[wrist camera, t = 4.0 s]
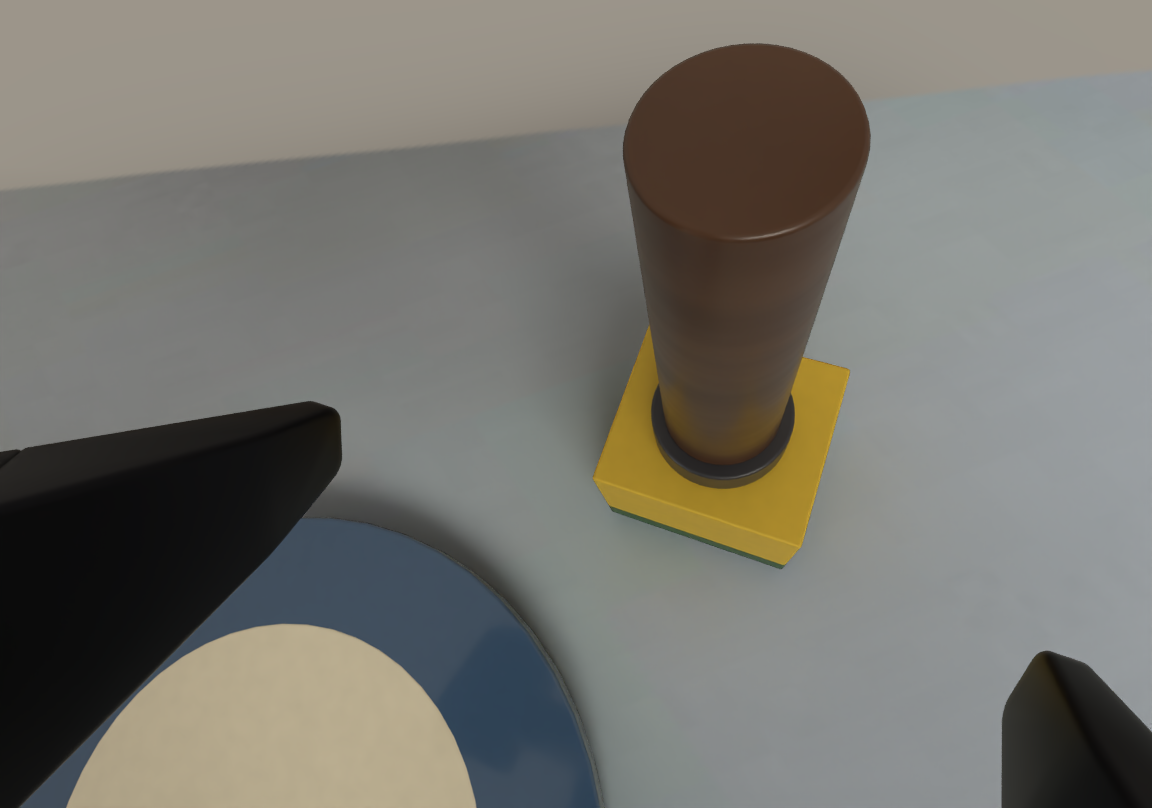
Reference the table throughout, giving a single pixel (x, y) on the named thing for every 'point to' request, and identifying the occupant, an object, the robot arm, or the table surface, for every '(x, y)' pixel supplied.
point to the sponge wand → (734, 295)
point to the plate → (344, 695)
